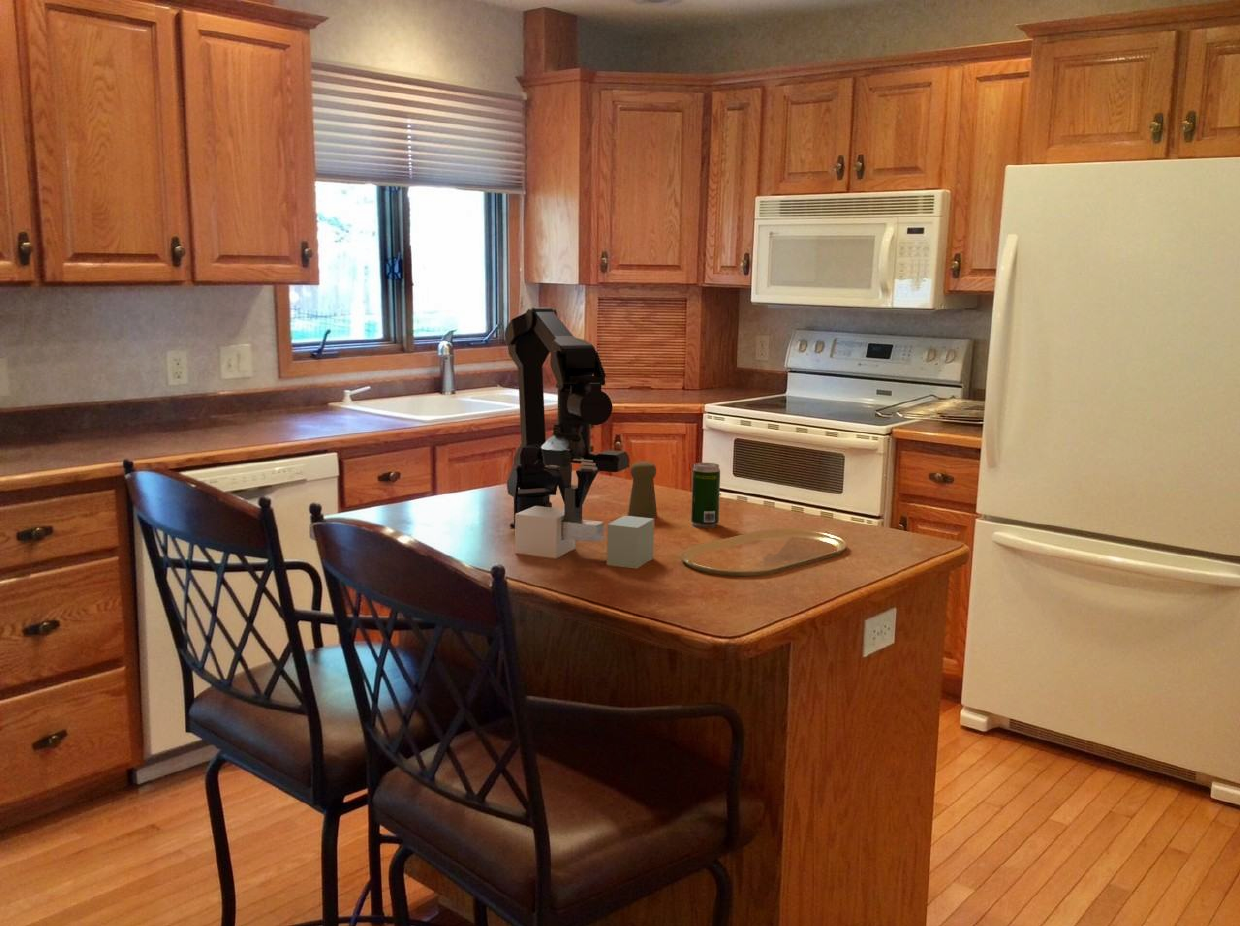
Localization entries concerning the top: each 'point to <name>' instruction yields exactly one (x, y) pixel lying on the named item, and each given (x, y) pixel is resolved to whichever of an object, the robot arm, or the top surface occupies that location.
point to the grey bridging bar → (578, 520)
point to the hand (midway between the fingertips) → (573, 506)
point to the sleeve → (541, 532)
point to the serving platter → (757, 535)
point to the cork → (643, 491)
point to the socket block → (630, 541)
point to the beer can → (705, 495)
